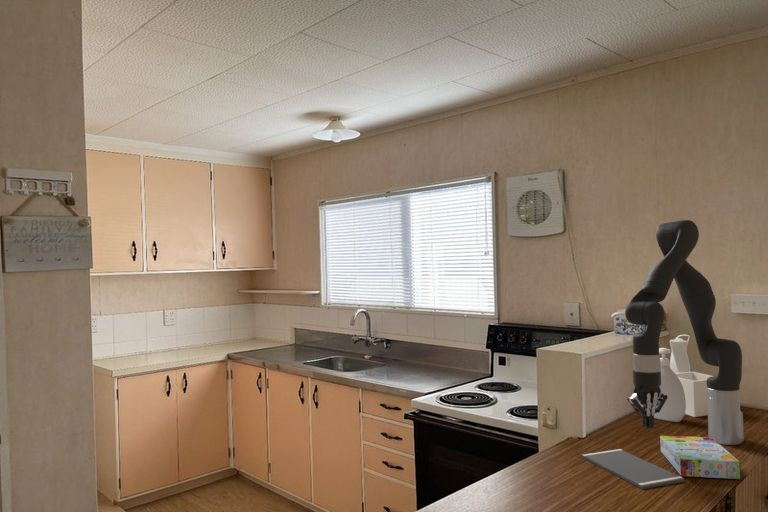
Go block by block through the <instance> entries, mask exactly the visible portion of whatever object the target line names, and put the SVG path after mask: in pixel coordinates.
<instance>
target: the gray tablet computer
mask: <svg viewBox="0 0 768 512" xmlns="http://www.w3.org/2000/svg"><path fill="white" fill-rule="evenodd" d="M580 457H581V458H582V459H584V460H586V461H588V462H590V463H592V464H593V465H595V466H597V467H599V468H601V469H603V470H605V471H607V472H609V473H610V474H613V475H615V476H616V477H618V478H620V479H622V480H623V481H624V480H625V482H628V483H630V484H631V485H633V486H635V487H637V488H639V489H641V490H645V489H650V488H655V487H661V486H662V487H663V486H668V485H673V484H679V483H684V482H685V481H686V480H685V478H684V476H681V475H680V476H679V475H678V474H675V473H673V472H671V471H669V470H667V469H665V468H662V467H660V466H658V465H655V464H654V463H651V462H649V461H647V460H644V459H642V458H640V457H638V456H635V455H633V454H632V453H629V452H627V451H625V450H624V449H622V448H615V449H608V450H603V451H597V452H589V453H584V454H581V456H580Z"/></svg>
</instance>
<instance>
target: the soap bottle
mask: <svg viewBox="0 0 768 512" xmlns="http://www.w3.org/2000/svg"><path fill="white" fill-rule="evenodd" d="M671 353H672V349H671V348H670V349H669V348H666V347H659V355H661V357H660V364H661V385H660V386H659V387H660V389H661V392H662V393H663V394H665V395H667V396H668V398H667V400H666V401H665V403H664V405H663V407H662V408H661V410H660V412H659V413H655V415H654V419H657V420H662V421H666V422H674V423H680V422H681V421H682V420H683V418H684V416H685V415H686V414H685V410H686V399H685V393H684V389H683V386H682V383H681V382H680V380H679V378H678V377H677V375H676V374H675V373H674V372H673V370H672V369H671V368H670V359H669V358H667V357H666V355H668V354H670V355H671ZM657 406H658V405H657ZM656 408H657V407H656ZM650 409H651V408H650Z"/></svg>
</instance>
